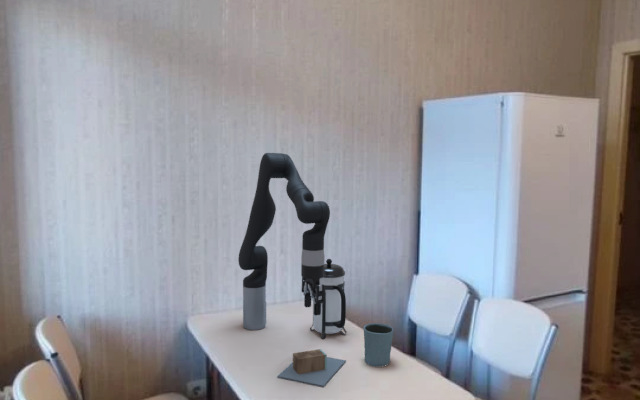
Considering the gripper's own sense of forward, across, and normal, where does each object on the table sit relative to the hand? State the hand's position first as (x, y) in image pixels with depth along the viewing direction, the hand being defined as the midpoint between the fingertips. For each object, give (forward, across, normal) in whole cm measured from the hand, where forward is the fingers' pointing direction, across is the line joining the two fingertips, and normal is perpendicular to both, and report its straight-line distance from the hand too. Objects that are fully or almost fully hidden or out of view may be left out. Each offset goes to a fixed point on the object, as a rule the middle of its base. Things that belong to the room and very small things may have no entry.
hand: (312, 310), depth 163 cm
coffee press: (+20, +27, -19) cm, 38 cm away
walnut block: (+17, -1, +6) cm, 18 cm away
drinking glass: (+20, -3, -24) cm, 31 cm away
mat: (+20, -1, 0) cm, 20 cm away
